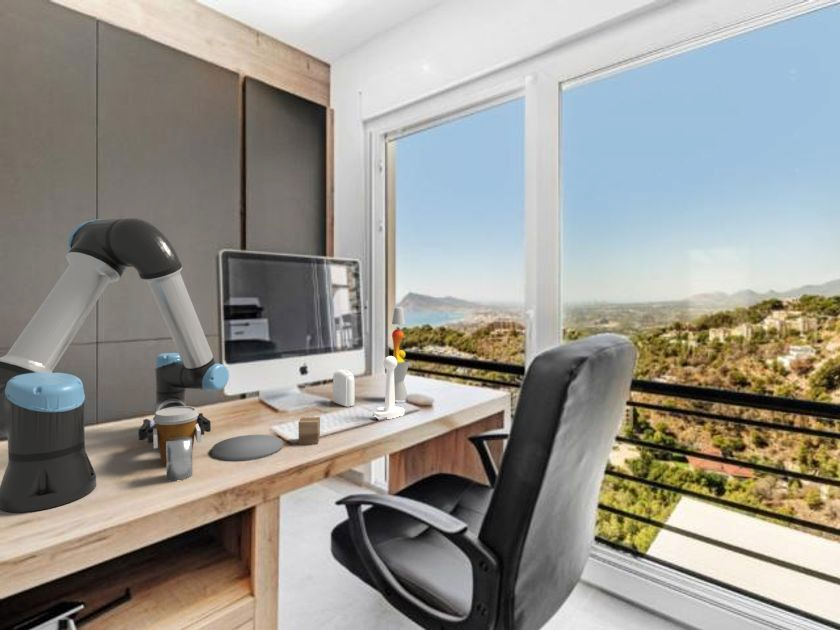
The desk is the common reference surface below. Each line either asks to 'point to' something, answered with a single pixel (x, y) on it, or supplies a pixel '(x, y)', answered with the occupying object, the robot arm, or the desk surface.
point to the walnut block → (309, 430)
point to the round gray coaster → (247, 447)
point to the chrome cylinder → (179, 458)
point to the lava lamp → (399, 356)
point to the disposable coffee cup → (175, 425)
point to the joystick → (389, 392)
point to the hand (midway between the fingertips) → (177, 439)
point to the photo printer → (344, 388)
